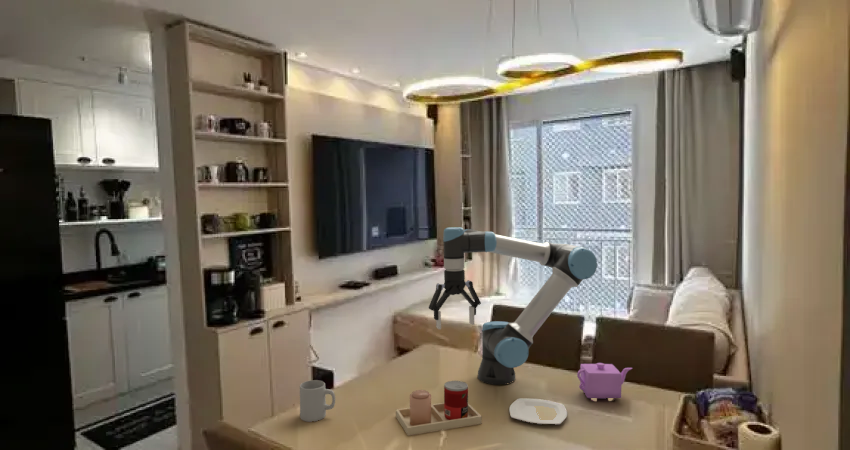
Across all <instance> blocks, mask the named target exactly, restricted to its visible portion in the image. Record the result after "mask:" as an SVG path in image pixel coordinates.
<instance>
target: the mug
mask: <svg viewBox="0 0 850 450" xmlns="http://www.w3.org/2000/svg"><path fill="white" fill-rule="evenodd" d="M326 395H331V399H332V400H331V401H332V402H331V404H327V401H326ZM335 406H336V394H335V392H334V390H332V389H329V388H326V383H325V382H324V381H323V380H318V379H314V380H313V379H312V380H306V381H304V382H301V383H300V385H299V417H300V419H301V421H303V422H309V423H310V422H312V421H314V422H318V420H319V421H321V420H323V419H324V418H325V417H326V415H327V410H328V411H329V410H333V408H334V407H335ZM312 423H313V422H312Z"/></svg>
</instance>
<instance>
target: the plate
mask: <svg viewBox="0 0 850 450" xmlns="http://www.w3.org/2000/svg"><path fill="white" fill-rule="evenodd" d="M534 406H544V407H549V408H554V409H555V411H556V413H557V415H556V417H555V418H554V419H553V420H540V419H541V418H540V419H539V416H538V415H539V414H538V415H537V413H538V412H537V413H536V408H535V407H534ZM509 414H510V418H512V419H516V420H518V421H521V420H522V421H521V422H525V421H526V422H525V423H529V422H530V423H529V424H533V423H537V424H536V425H542V424H555V425H561V424H562V423H563V422H564V421H565V419H566V418H567V416H568V410H567V408H566V406H565V405H564V403H560V402H557V401H556V402H555V401H552V400H548V399H542V398H541V399H540V398H528V397H527V398H520V397H519V398H517V399H515V401H513V402H512V403H511V405H509Z"/></svg>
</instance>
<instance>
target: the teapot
mask: <svg viewBox="0 0 850 450" xmlns="http://www.w3.org/2000/svg"><path fill="white" fill-rule="evenodd" d="M632 369H633V367H625V368H623V369H622V371H621V372H620V371H619V369H618V368H617V367H616V366H615V365H614V364H613V363H603V362H597V363H580V369H579V370H578V371H577V373H576V377H577V378H578V380H579V383H580V384H579V385H578V388H579V389H580V390H581V391H582V390H583V391H582V392H583V394H584V393H585V394H584V395H585V396H586V398H587V399H591V398H598V399H606V398H621V399H622V385H623V384H624V383H625V382H624V381H625V380H626V376H627V374H628V372H629V371H631V370H632Z"/></svg>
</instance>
